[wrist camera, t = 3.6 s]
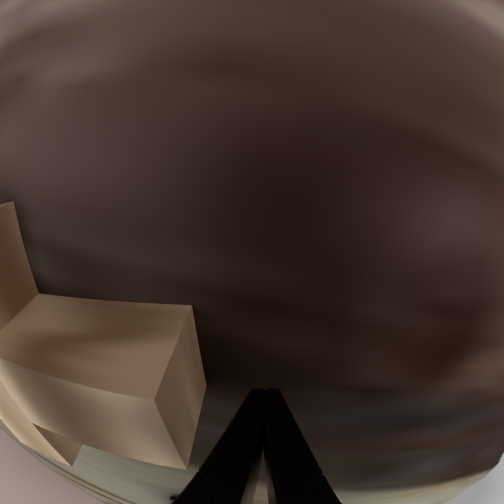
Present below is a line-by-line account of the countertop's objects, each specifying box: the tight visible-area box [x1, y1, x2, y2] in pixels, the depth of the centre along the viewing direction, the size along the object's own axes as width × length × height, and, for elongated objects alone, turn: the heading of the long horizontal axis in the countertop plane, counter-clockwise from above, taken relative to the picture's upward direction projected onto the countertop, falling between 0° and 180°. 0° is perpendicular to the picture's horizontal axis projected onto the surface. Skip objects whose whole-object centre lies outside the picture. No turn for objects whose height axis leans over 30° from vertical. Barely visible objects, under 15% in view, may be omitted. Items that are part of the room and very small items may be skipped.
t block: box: [0, 201, 207, 470], centre depth 9 cm, size 11×12×4 cm
